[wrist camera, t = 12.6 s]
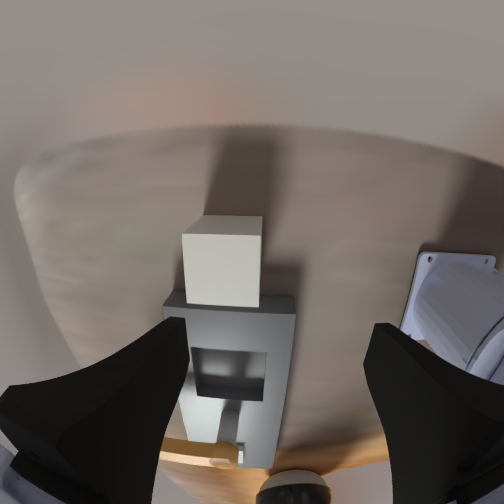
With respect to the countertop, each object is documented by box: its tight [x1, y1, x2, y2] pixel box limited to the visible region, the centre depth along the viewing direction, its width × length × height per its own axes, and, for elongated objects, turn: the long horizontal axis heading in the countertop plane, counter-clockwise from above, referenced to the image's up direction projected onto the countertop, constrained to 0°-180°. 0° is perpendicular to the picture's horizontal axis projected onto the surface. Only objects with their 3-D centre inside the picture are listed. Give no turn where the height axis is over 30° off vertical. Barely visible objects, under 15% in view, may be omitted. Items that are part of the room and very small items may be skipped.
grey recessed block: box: [162, 290, 296, 469], centre depth 21 cm, size 9×22×6 cm, turn 179°
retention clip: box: [159, 437, 239, 469], centre depth 17 cm, size 2×9×2 cm, turn 93°
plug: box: [182, 215, 263, 307], centre depth 17 cm, size 4×4×5 cm
